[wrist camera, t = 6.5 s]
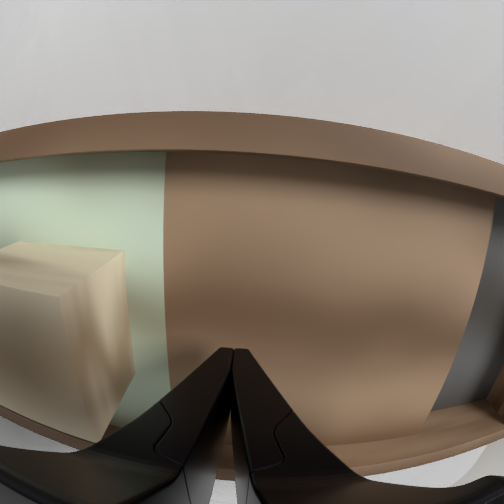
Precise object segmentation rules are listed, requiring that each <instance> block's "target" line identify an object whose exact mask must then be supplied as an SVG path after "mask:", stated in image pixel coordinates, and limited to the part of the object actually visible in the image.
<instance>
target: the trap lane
mask: <svg viewBox="0 0 504 504" xmlns="http://www.w3.org/2000/svg"><path fill="white" fill-rule="evenodd" d="M18 241H24V242H35V243H46V244H57V245H68V246H80V247H91V248H103V249H115V250H124V251H125V273H126V289H127V302H128V313H129V323H130V332H131V341H132V349H133V356H134V363H135V370H136V373H135V375H134V377H133V379H132V381H131V383H130V385H129V386H128V388H127V390H126V392H125V394H124V396H123V398H122V400H121V402H120V404H119V405H118V407H117V409H116V411H115V413H114V415H113V417H112V419H111V421H110V423H109V425H108V427H107V429H106V431H105V433H104V435H103V437H102V439H103V438H105V437H107V436H109V435H110V434H112V433H114V432H115V431H117V430H119V429H120V428H122V427H123V426H125V425H127V424H128V423H130V422H131V421H133V420H134V419H136V418H137V417H139V416H140V415H141V414H143V413H144V412H145V411H146V410H148V409H149V408H150V407H152V406H153V405H154V404H155V403H156V402H158V401H159V400H160V399H161V398H162V397H164V396H165V395H166V394H167V393H168V392H169V391H171V390H172V389H173V388H174V387H175V386H176V385H178V384H179V383H180V382H181V381H182V380H183V379H185V378H186V377H187V376H188V375H189V374H190V373H192V372H193V371H194V370H195V369H196V368H197V367H198V366H199V365H201V364H202V363H203V362H204V361H205V360H206V359H207V358H209V357H210V356H211V355H212V354H213V353H214V352H215V351H216V350H217V349H219V348H220V347H228V348H233V349H236V348H244V349H249V351H250V352H251V353H252V355H253V356H254V358H255V359H256V360H257V362H258V363H259V365H260V366H261V367H262V369H263V370H264V372H265V373H266V374H267V376H268V377H269V378H270V380H271V381H272V382H273V384H274V385H275V387H276V388H277V389H278V391H279V392H280V393H281V395H282V396H283V397H284V399H285V400H286V401H287V403H288V404H289V405H290V407H291V408H292V409H293V411H294V412H295V413H296V414H297V416H298V417H299V418H300V420H301V421H302V422H303V423H304V424H305V426H306V427H307V428H308V429H309V430H310V431H311V432H312V433H313V434H314V435H315V436H316V437H317V438H318V439H319V440H320V441H321V442H322V443H323V444H324V445H325V446H326V447H327V448H328V449H329V450H330V451H331V452H333V453H334V454H335V455H336V456H337V457H338V458H339V459H340V460H341V461H343V462H344V463H345V464H346V465H347V466H348V467H349V468H350V469H352V470H353V471H354V472H356V473H357V474H359V475H360V476H369V475H375V474H381V473H387V472H392V471H397V470H402V469H407V468H411V467H415V466H420V465H424V464H427V463H431V462H435V461H439V460H442V459H445V458H449V457H452V456H455V455H458V454H461V453H464V452H467V451H470V450H473V449H476V448H479V447H481V446H484V445H487V444H489V443H492V442H494V441H497V440H499V439H501V438H504V165H502V164H499V163H496V162H494V161H491V160H488V159H485V158H482V157H479V156H476V155H473V154H470V153H467V152H464V151H460V150H457V149H454V148H450V147H447V146H443V145H440V144H436V143H432V142H429V141H425V140H421V139H417V138H413V137H409V136H404V135H400V134H395V133H391V132H386V131H381V130H376V129H371V128H366V127H361V126H355V125H349V124H343V123H337V122H330V121H323V120H315V119H307V118H299V117H290V116H280V115H268V114H255V113H237V112H208V111H172V112H143V113H127V114H114V115H103V116H93V117H84V118H76V119H69V120H62V121H55V122H49V123H43V124H37V125H32V126H27V127H22V128H17V129H12V130H7V131H3V132H0V249H1V248H4V247H6V246H8V245H11V244H13V243H16V242H18ZM0 416H2V417H4V418H6V419H8V420H10V421H12V422H14V423H16V424H18V425H20V426H22V427H24V428H27V429H29V430H31V431H33V432H35V433H38V434H40V435H42V436H45V437H47V438H50V439H52V440H55V441H57V442H60V443H62V444H65V445H68V446H71V447H73V448H76V449H79V450H83V449H85V448H87V447H89V446H91V445H93V444H95V443H94V442H91V441H88V440H85V439H81V438H78V437H76V436H73V435H70V434H67V433H64V432H62V431H59V430H56V429H54V428H51V427H48V426H46V425H44V424H41V423H39V422H36V421H34V420H32V419H29V418H27V417H25V416H23V415H21V414H18V413H16V412H14V411H12V410H10V409H8V408H6V407H4V406H2V405H0ZM102 439H101V440H102ZM215 479H219V480H231V481H235V472H234V461H233V449H232V436H231V422H230V418H229V423H228V427H227V432H226V436H225V440H224V444H223V449H222V453H221V457H220V461H219V465H218V469H217V474H216V478H215Z"/></svg>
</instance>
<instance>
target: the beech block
mask: <svg viewBox="0 0 504 504" xmlns="http://www.w3.org/2000/svg"><path fill="white" fill-rule="evenodd" d="M135 373H136V370H135V363H134V356H133V349H132V341H131V332H130V323H129V313H128V302H127V289H126V273H125V251H124V250H115V249H103V248H91V247H80V246H68V245H57V244H46V243H35V242H24V241H18V242H16V243H13V244H11V245H8V246H6V247H4V248H1V249H0V405H2V406H4V407H6V408H8V409H10V410H12V411H14V412H16V413H18V414H21V415H23V416H25V417H27V418H29V419H32V420H34V421H36V422H39V423H41V424H44V425H46V426H48V427H51V428H54V429H56V430H59V431H62V432H64V433H67V434H70V435H73V436H76V437H78V438H81V439H85V440H88V441H91V442H94V443H97V442H98V441H100V440H101V439H102V437H103V435H104V433H105V431H106V429H107V427H108V425H109V423H110V421H111V419H112V417H113V415H114V413H115V411H116V409H117V407H118V405H119V404H120V402H121V400H122V398H123V396H124V394H125V392H126V390H127V388H128V386H129V385H130V383H131V381H132V379H133V377H134V375H135Z"/></svg>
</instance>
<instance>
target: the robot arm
mask: <svg viewBox="0 0 504 504" xmlns="http://www.w3.org/2000/svg"><path fill="white" fill-rule="evenodd" d="M229 418H230V422H231V436H232V449H233V461H234V472H235V484H236V494H237V504H504V476H491V475H490V476H485V477H483V478H480V479H478V480H475V481H473V482H471V483H468V484H465V485H461V486H457V487H449V488H429V487H416V486H407V485H398V484H391V483H384V482H377V481H372V480H369V479H366V478H364V477H362V476H360V475H359V474H357V473H356V472H354V471H353V470H352V469H350V468H349V467H348V466H347V465H346V464H345V463H344V462H343V461H341V460H340V459H339V458H338V457H337V456H336V455H335V454H334V453H333V452H331V451H330V450H329V449H328V448H327V447H326V446H325V445H324V444H323V443H322V442H321V441H320V440H319V439H318V438H317V437H316V436H315V435H314V434H313V433H312V432H311V431H310V430H309V429H308V428H307V427H306V426H305V424H304V423H303V422H302V421H301V420H300V418H299V417H298V416H297V414H296V413H295V412H294V411H293V409H292V408H291V407H290V405H289V404H288V403H287V401H286V400H285V399H284V397H283V396H282V395H281V393H280V392H279V391H278V389H277V388H276V387H275V385H274V384H273V382H272V381H271V380H270V378H269V377H268V376H267V374H266V373H265V372H264V370H263V369H262V367H261V366H260V365H259V363H258V362H257V360H256V359H255V358H254V356H253V355H252V353H251V352H250V351H249V349H244V348H236V349H233V348H228V347H220V348H219V349H217V350H216V351H215V352H214V353H213V354H212V355H211V356H210V357H209V358H207V359H206V360H205V361H204V362H203V363H202V364H201V365H199V366H198V367H197V368H196V369H195V370H194V371H193V372H192V373H190V374H189V375H188V376H187V377H186V378H185V379H183V380H182V381H181V382H180V383H179V384H178V385H176V386H175V387H174V388H173V389H172V390H171V391H169V392H168V393H167V394H166V395H165V396H164V397H162V398H161V399H160V400H159V401H158V402H156V403H155V404H154V405H153V406H152V407H150V408H149V409H148V410H146V411H145V412H144V413H143V414H141V415H140V416H139V417H137V418H136V419H134V420H133V421H131V422H130V423H128V424H127V425H125V426H123V427H122V428H120V429H119V430H117V431H115V432H114V433H112V434H110V435H109V436H107V437H105V438H103V439H102V440H100V441H98V442H97V443H95V444H93V445H91V446H89V447H87V448H85V449H83V450H80V451H77V452H71V453H58V452H45V451H35V450H26V449H18V448H11V447H5V446H0V504H209V502H210V498H211V494H212V490H213V486H214V482H215V478H216V474H217V469H218V465H219V461H220V457H221V453H222V449H223V444H224V440H225V436H226V432H227V427H228V423H229Z"/></svg>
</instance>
